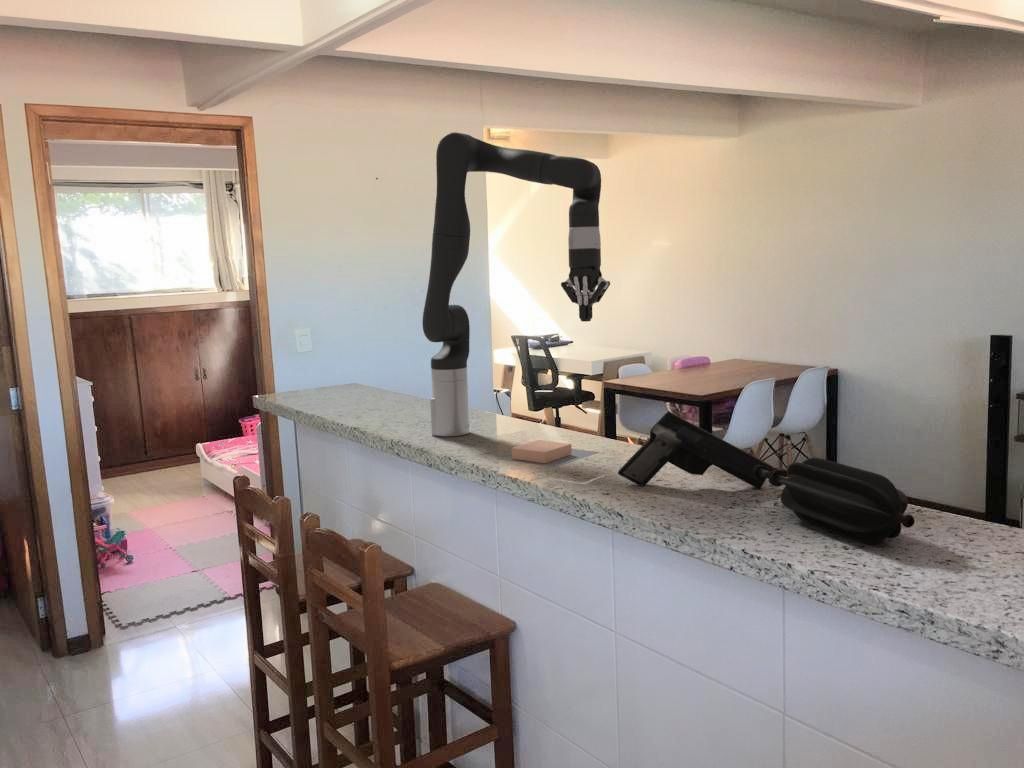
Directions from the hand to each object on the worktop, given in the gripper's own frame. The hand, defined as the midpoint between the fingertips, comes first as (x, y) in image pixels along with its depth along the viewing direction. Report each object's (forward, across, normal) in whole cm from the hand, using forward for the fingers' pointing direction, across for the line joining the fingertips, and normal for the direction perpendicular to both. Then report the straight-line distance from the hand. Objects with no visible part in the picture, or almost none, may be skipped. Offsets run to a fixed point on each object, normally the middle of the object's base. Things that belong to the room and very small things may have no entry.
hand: (585, 321), depth 199 cm
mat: (+29, +2, -19) cm, 35 cm away
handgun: (+29, +40, -25) cm, 56 cm away
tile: (+27, +2, -16) cm, 32 cm away
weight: (+29, +68, -36) cm, 82 cm away
